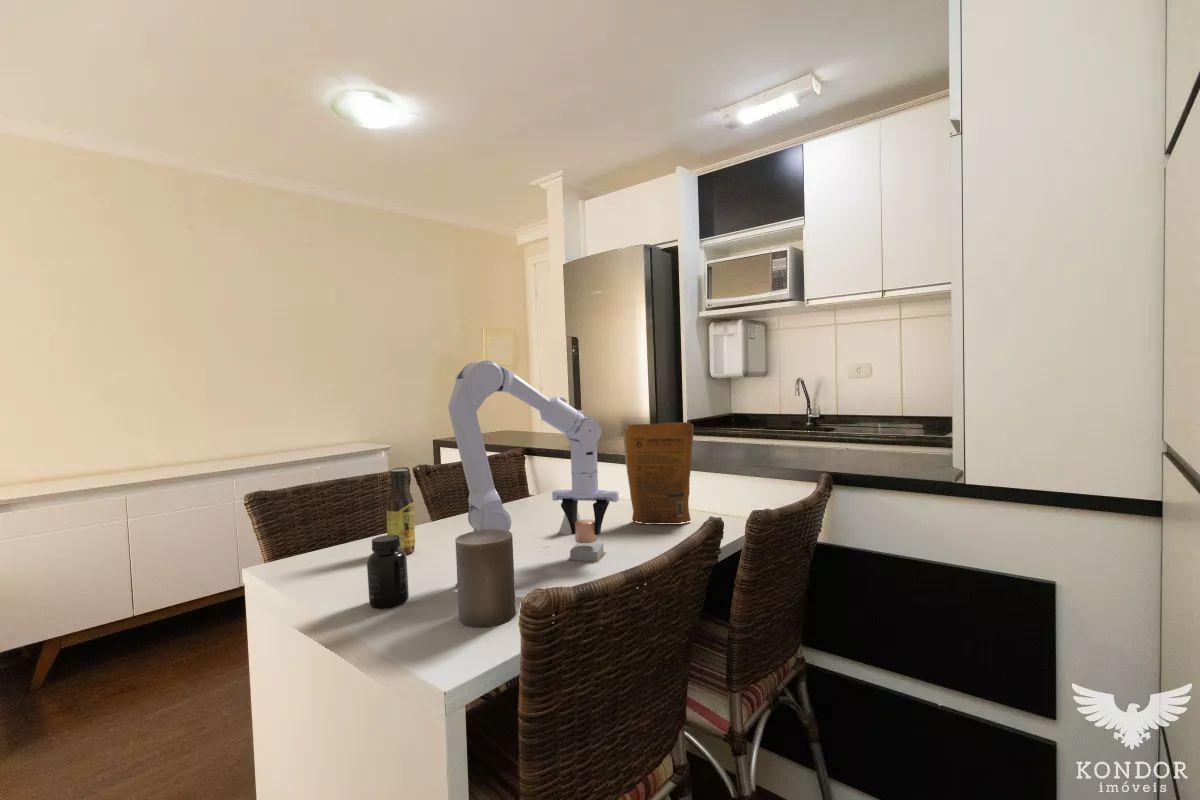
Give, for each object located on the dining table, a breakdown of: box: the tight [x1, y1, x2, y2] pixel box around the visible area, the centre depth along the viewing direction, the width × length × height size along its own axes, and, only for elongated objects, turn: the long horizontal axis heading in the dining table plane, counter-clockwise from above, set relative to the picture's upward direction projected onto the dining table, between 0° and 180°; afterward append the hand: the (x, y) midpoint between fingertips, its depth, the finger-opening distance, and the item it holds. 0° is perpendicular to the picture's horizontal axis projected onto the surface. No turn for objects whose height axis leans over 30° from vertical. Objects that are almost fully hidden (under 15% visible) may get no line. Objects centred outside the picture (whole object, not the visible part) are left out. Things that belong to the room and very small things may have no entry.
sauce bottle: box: [386, 468, 416, 555], centre depth 133 cm, size 7×6×20 cm
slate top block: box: [569, 542, 605, 561], centre depth 122 cm, size 6×6×2 cm
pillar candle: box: [455, 529, 517, 628], centre depth 95 cm, size 10×10×15 cm
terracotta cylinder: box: [574, 518, 598, 543], centre depth 121 cm, size 5×5×4 cm
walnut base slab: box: [566, 551, 607, 564], centre depth 121 cm, size 7×7×2 cm
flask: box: [558, 507, 582, 536], centre depth 143 cm, size 7×7×10 cm
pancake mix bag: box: [622, 421, 694, 523], centre depth 153 cm, size 7×19×28 cm, turn 79°
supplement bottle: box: [366, 534, 410, 610], centre depth 102 cm, size 7×7×12 cm
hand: (586, 533), depth 121 cm, fingers closed on terracotta cylinder, 5 cm apart
